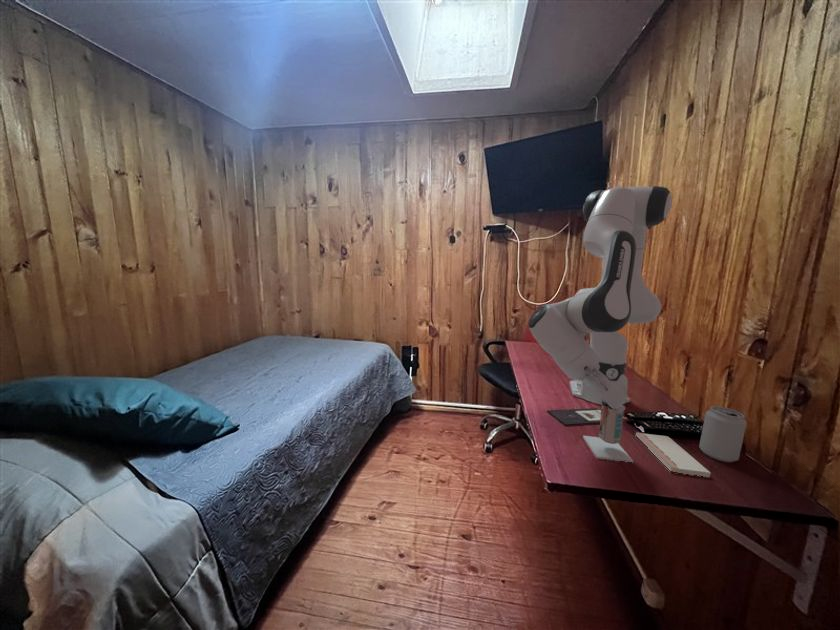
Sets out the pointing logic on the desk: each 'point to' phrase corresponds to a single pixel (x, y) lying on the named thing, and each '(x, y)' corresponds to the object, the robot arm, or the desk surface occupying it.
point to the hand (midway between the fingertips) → (615, 404)
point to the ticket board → (672, 455)
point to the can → (722, 434)
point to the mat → (606, 449)
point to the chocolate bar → (577, 416)
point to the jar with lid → (610, 424)
